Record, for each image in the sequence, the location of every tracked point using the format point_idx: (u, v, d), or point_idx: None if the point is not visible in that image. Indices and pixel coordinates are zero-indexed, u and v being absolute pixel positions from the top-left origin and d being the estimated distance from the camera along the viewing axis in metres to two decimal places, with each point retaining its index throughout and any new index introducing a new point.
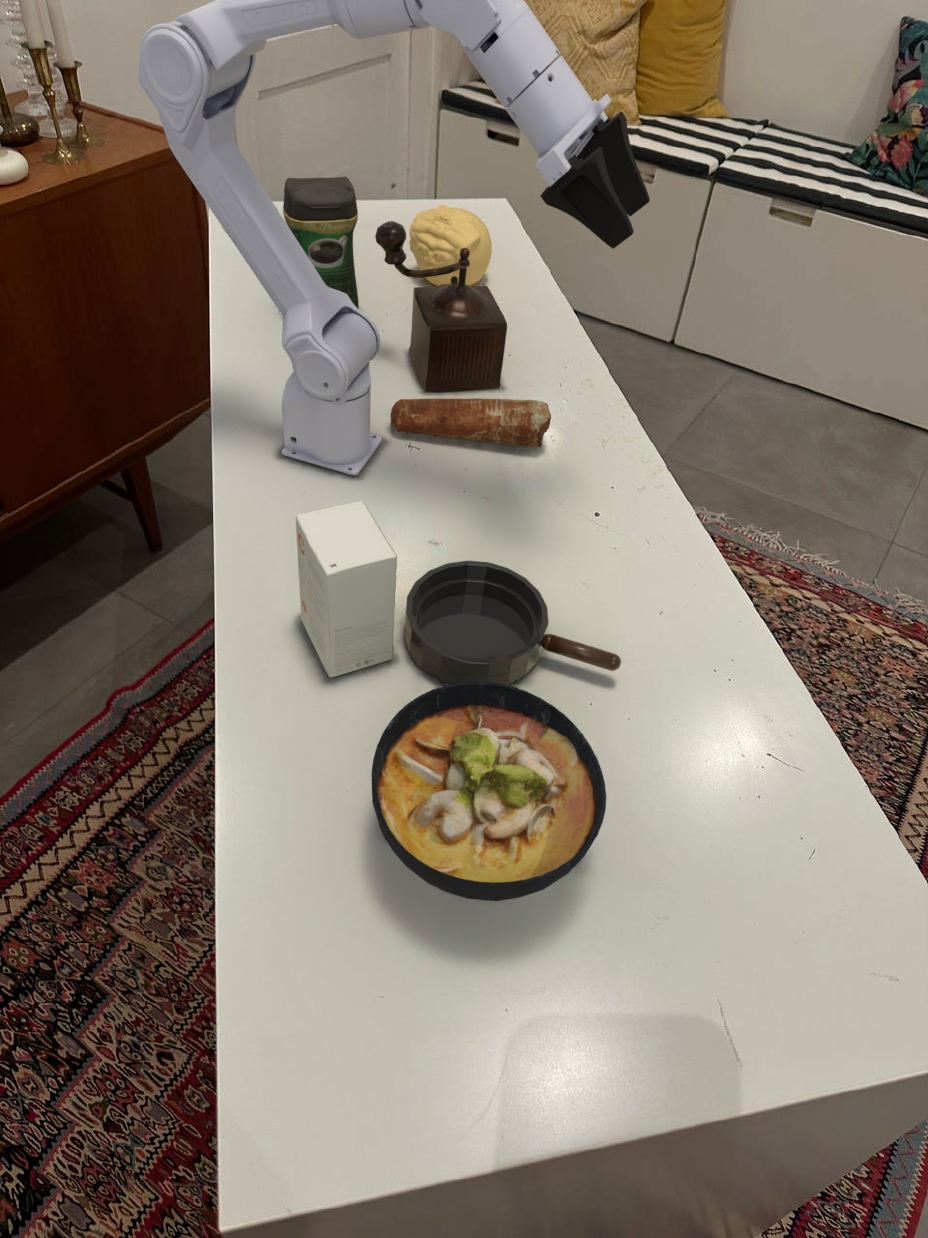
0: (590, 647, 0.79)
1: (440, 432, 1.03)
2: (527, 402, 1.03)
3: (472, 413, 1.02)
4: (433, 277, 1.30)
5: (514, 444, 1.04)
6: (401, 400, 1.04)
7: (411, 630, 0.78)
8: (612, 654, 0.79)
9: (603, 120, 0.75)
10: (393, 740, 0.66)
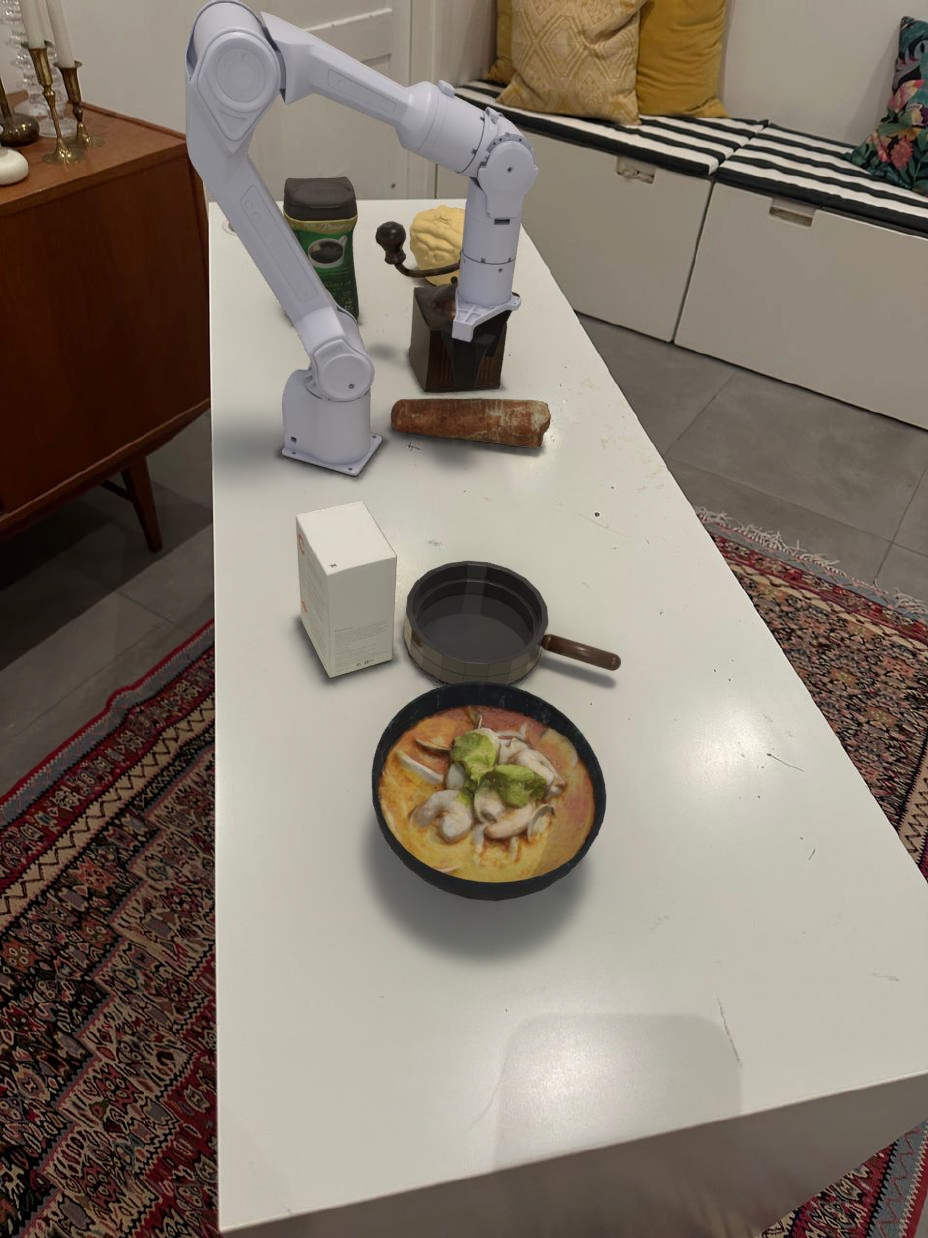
0: (590, 647, 0.79)
1: (440, 432, 1.03)
2: (527, 402, 1.03)
3: (472, 413, 1.02)
4: (433, 277, 1.30)
5: (514, 444, 1.04)
6: (401, 400, 1.04)
7: (411, 630, 0.78)
8: (612, 654, 0.79)
9: None
10: (393, 740, 0.66)
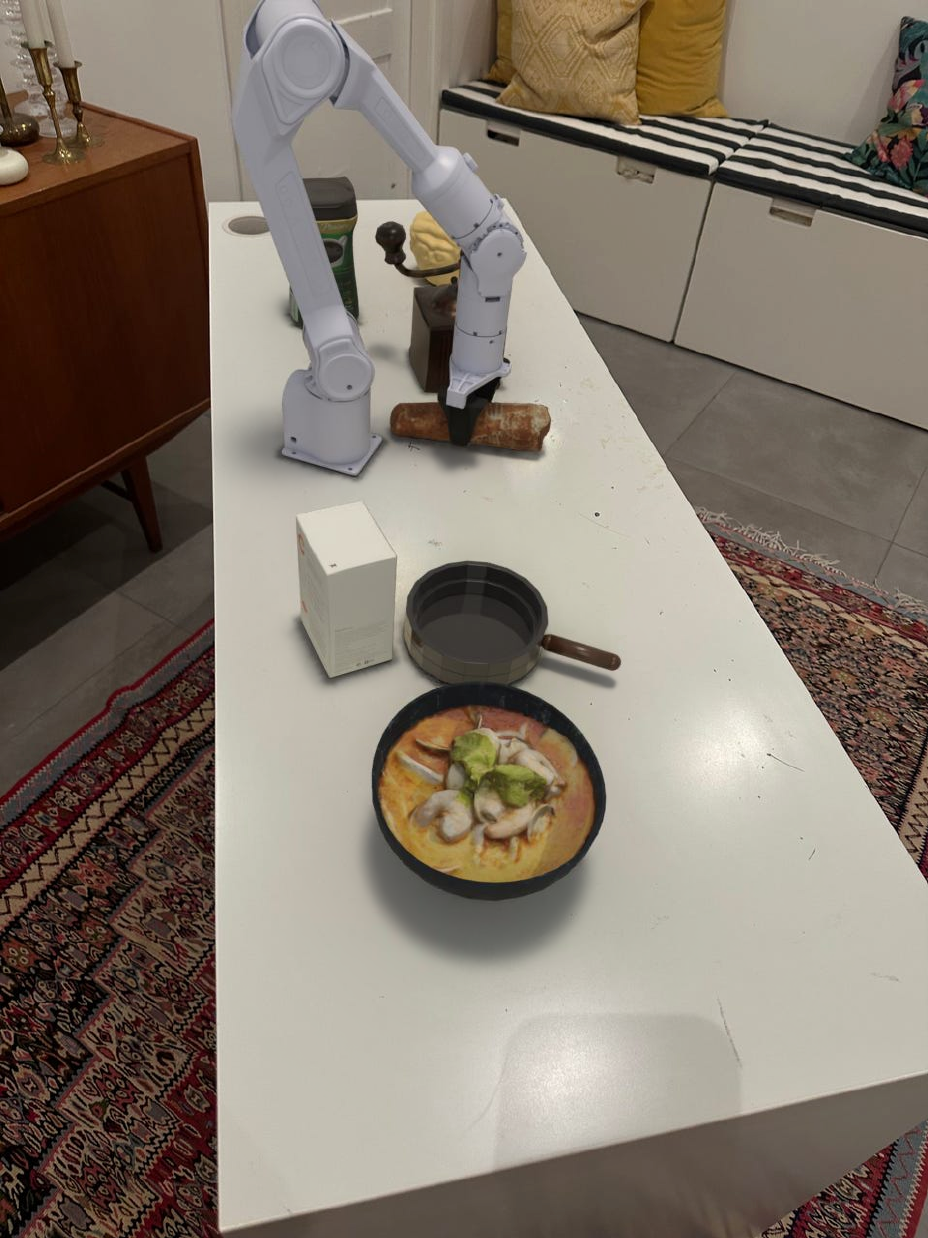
0: (590, 647, 0.79)
1: (439, 436, 1.03)
2: (527, 406, 1.02)
3: None
4: (433, 277, 1.30)
5: (514, 448, 1.04)
6: (400, 404, 1.03)
7: (411, 630, 0.78)
8: (612, 654, 0.79)
9: None
10: (393, 740, 0.66)
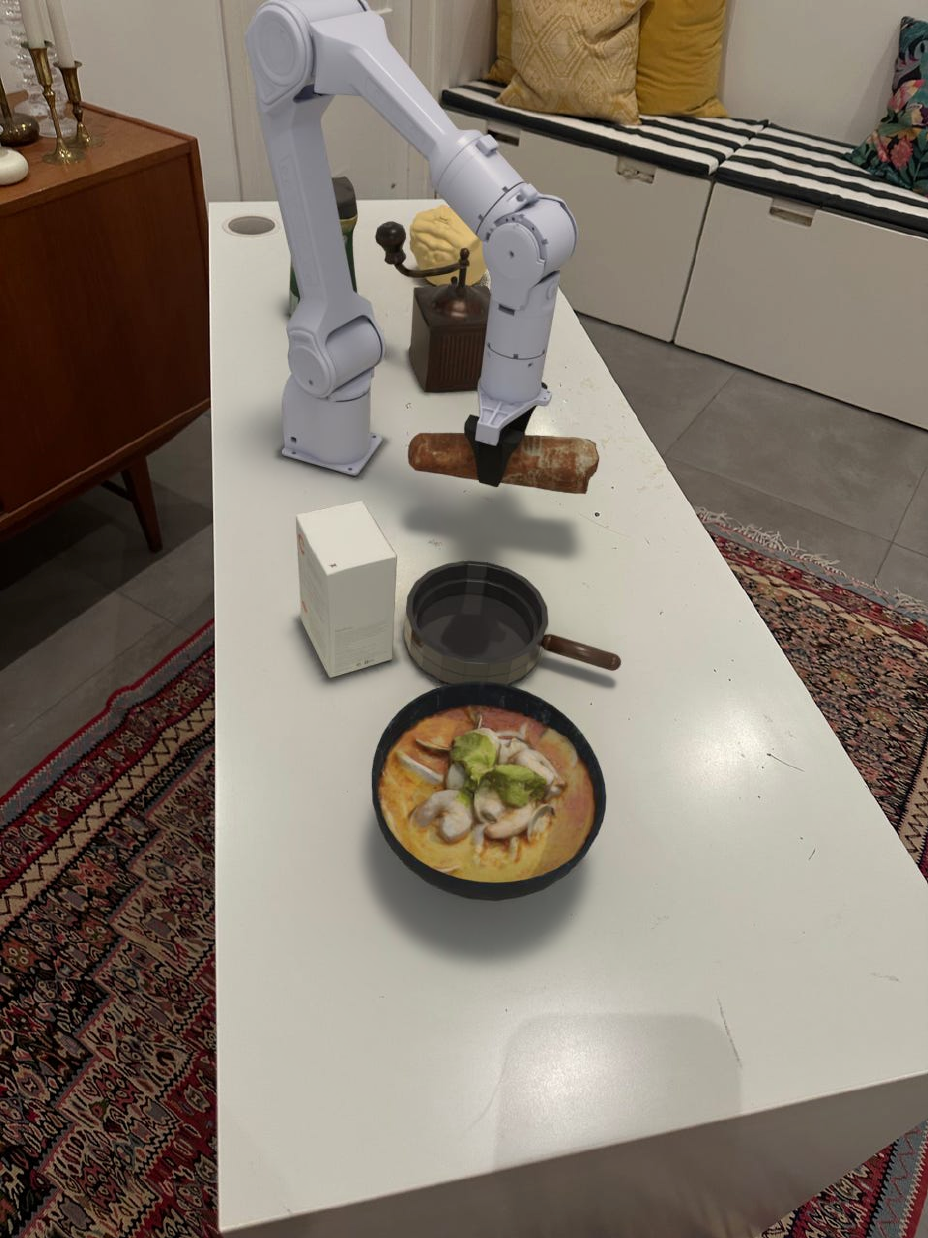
0: (590, 647, 0.79)
1: (466, 473, 0.87)
2: (571, 440, 0.86)
3: None
4: (433, 277, 1.30)
5: (554, 490, 0.87)
6: (421, 434, 0.87)
7: (411, 630, 0.78)
8: (612, 654, 0.79)
9: None
10: (393, 740, 0.66)
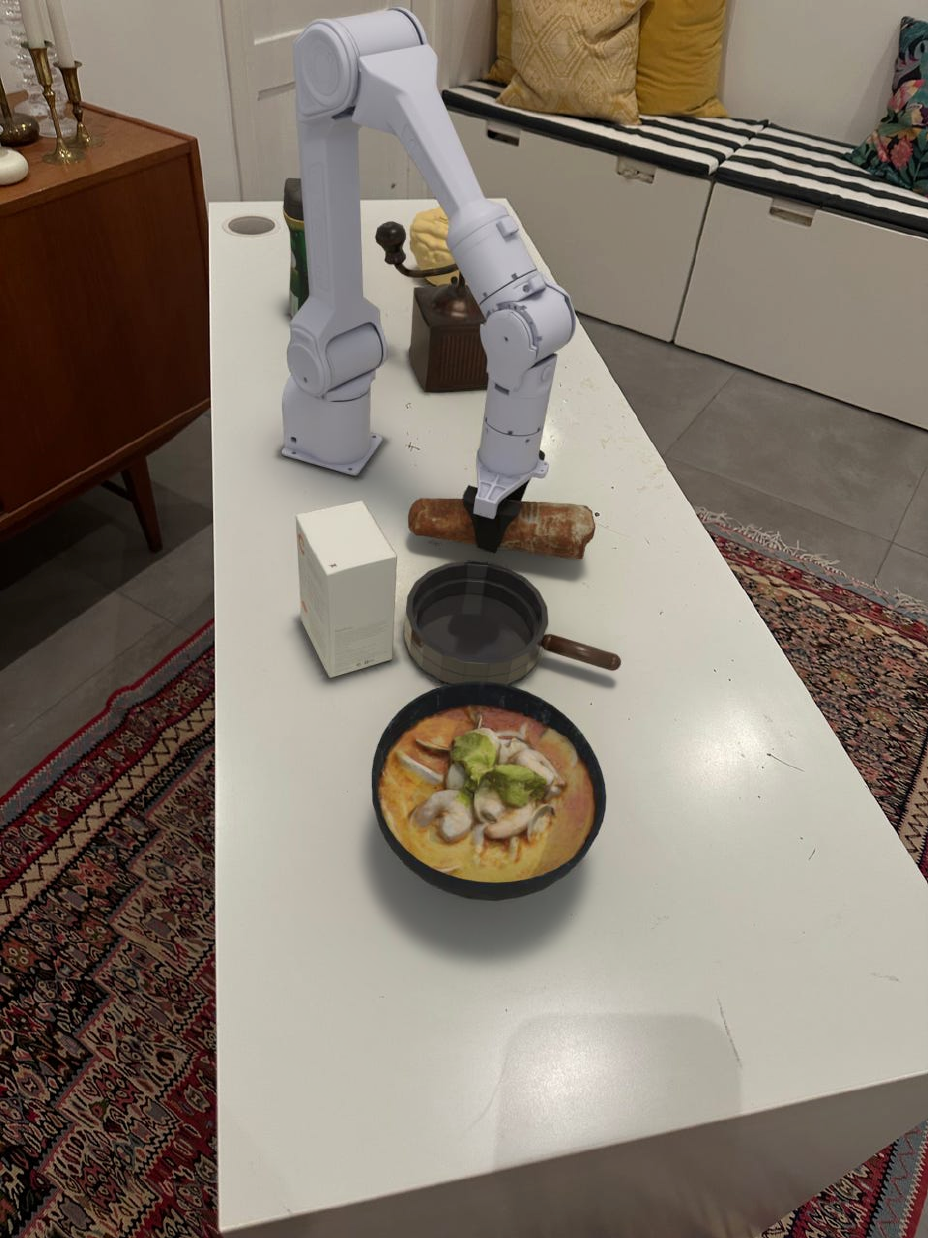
0: (590, 647, 0.79)
1: (464, 539, 0.89)
2: (568, 508, 0.88)
3: None
4: (433, 277, 1.30)
5: (551, 555, 0.89)
6: (421, 500, 0.89)
7: (411, 630, 0.78)
8: (612, 654, 0.79)
9: None
10: (393, 740, 0.66)
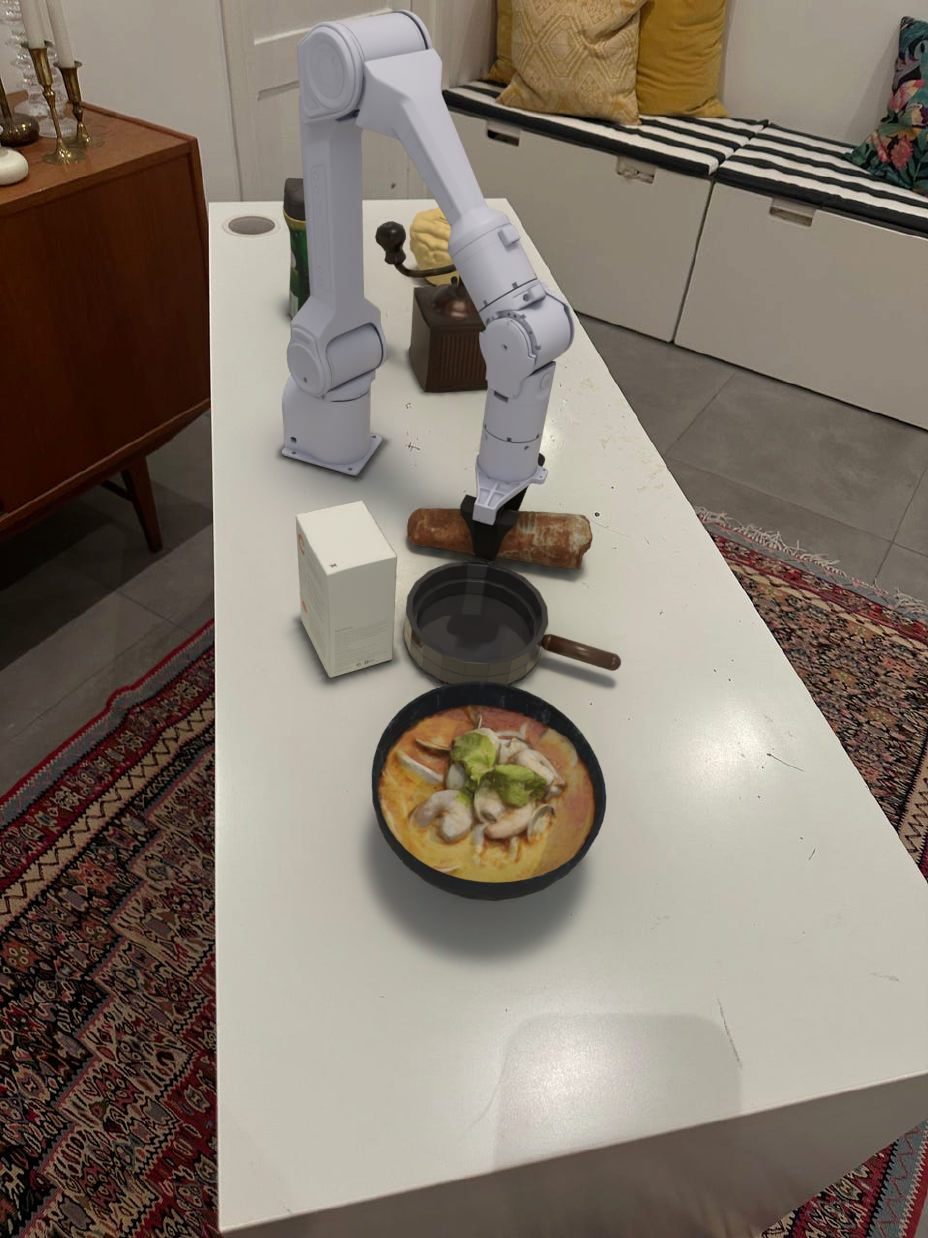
0: (590, 647, 0.79)
1: (463, 548, 0.89)
2: (565, 518, 0.89)
3: None
4: (433, 277, 1.30)
5: (548, 565, 0.90)
6: (420, 510, 0.90)
7: (411, 630, 0.78)
8: (612, 654, 0.79)
9: None
10: (393, 740, 0.66)
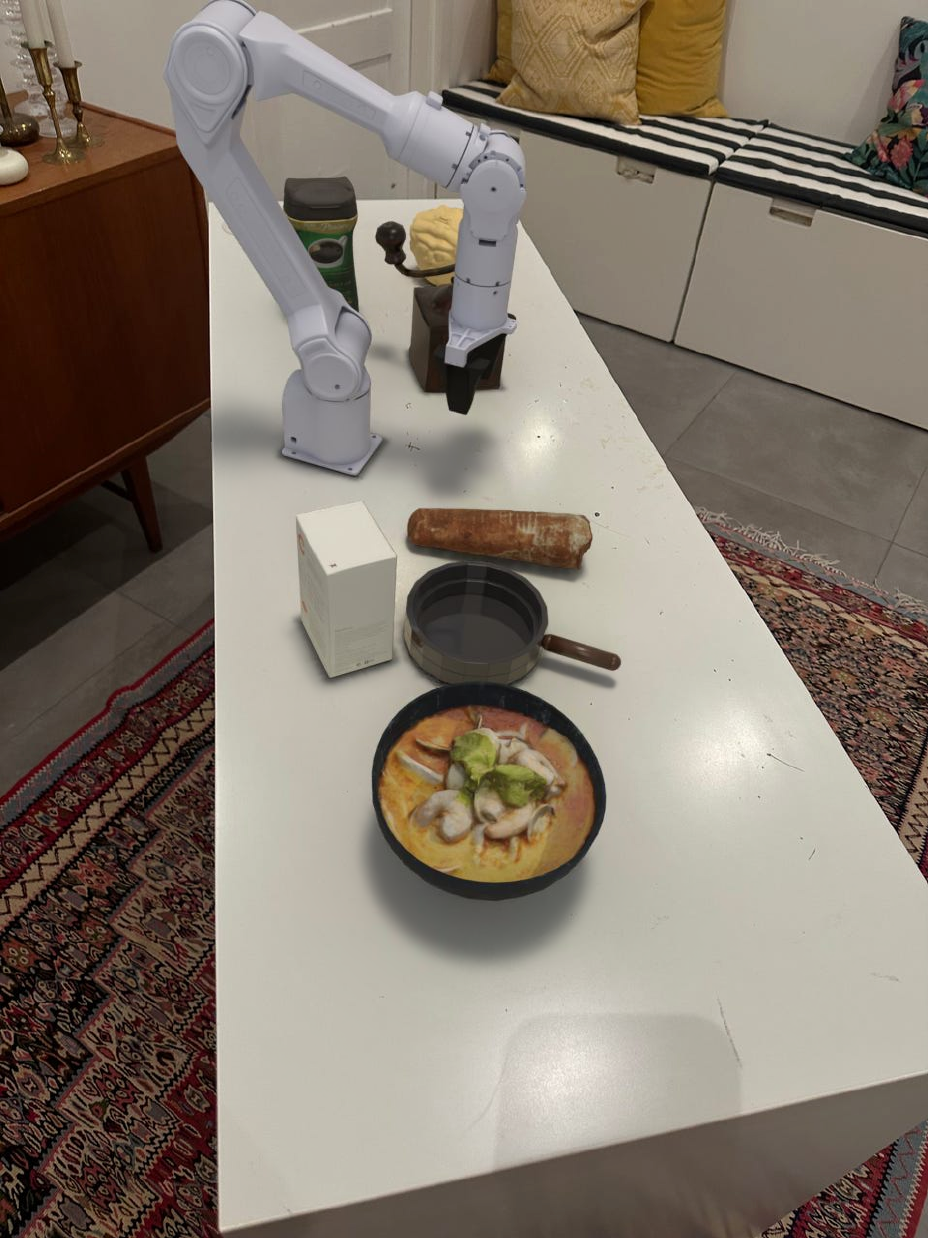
0: (590, 647, 0.79)
1: (463, 548, 0.89)
2: (565, 518, 0.89)
3: (501, 530, 0.88)
4: (433, 277, 1.30)
5: (548, 565, 0.90)
6: (420, 510, 0.90)
7: (411, 630, 0.78)
8: (612, 654, 0.79)
9: None
10: (393, 740, 0.66)
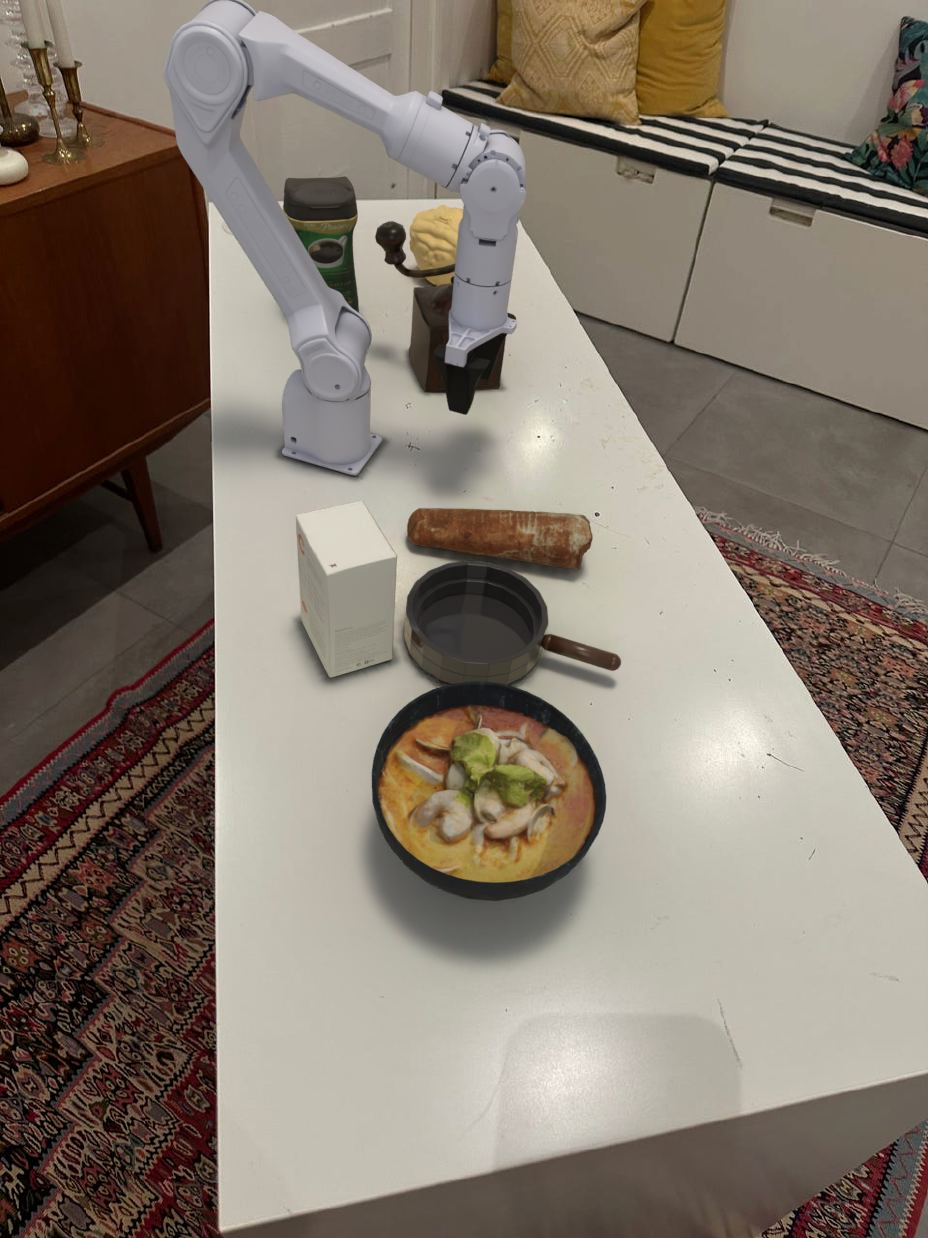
0: (590, 647, 0.79)
1: (463, 548, 0.89)
2: (565, 518, 0.89)
3: (501, 530, 0.88)
4: (433, 277, 1.30)
5: (548, 565, 0.90)
6: (420, 510, 0.90)
7: (411, 630, 0.78)
8: (612, 654, 0.79)
9: None
10: (393, 740, 0.66)
